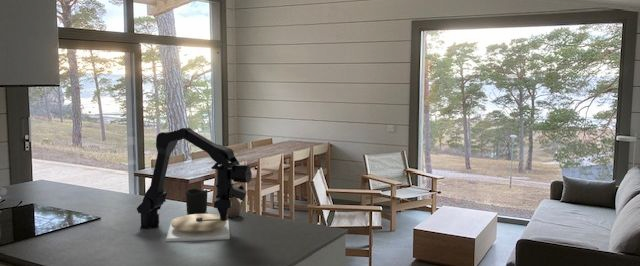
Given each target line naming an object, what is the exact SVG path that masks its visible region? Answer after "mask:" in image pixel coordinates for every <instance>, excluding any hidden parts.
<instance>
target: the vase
mask: <svg viewBox="0 0 640 266" xmlns="http://www.w3.org/2000/svg"><path fill="white" fill-rule="evenodd" d="M229 199H230V200H231V201H232V205H231V208H228V218H235V217H236V218H237V217H238V216H239V215H240V214H241V213H242V204H241V200H240V199H238V198H235V197H233V198H229Z"/></svg>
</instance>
